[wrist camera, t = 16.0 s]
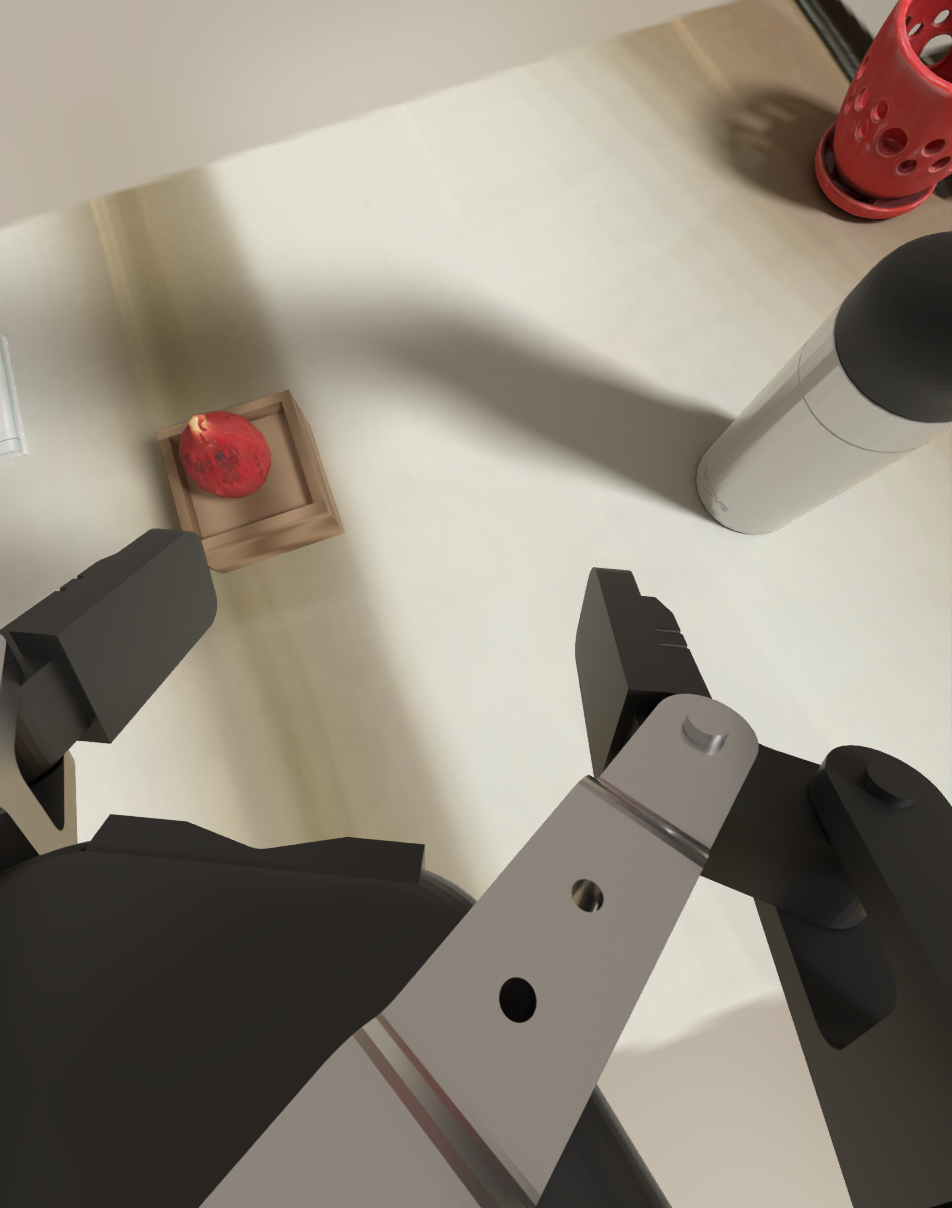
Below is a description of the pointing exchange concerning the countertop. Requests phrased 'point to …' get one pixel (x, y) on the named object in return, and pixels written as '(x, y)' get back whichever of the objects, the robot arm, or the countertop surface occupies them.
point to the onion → (224, 454)
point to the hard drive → (9, 409)
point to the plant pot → (892, 120)
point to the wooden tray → (259, 492)
